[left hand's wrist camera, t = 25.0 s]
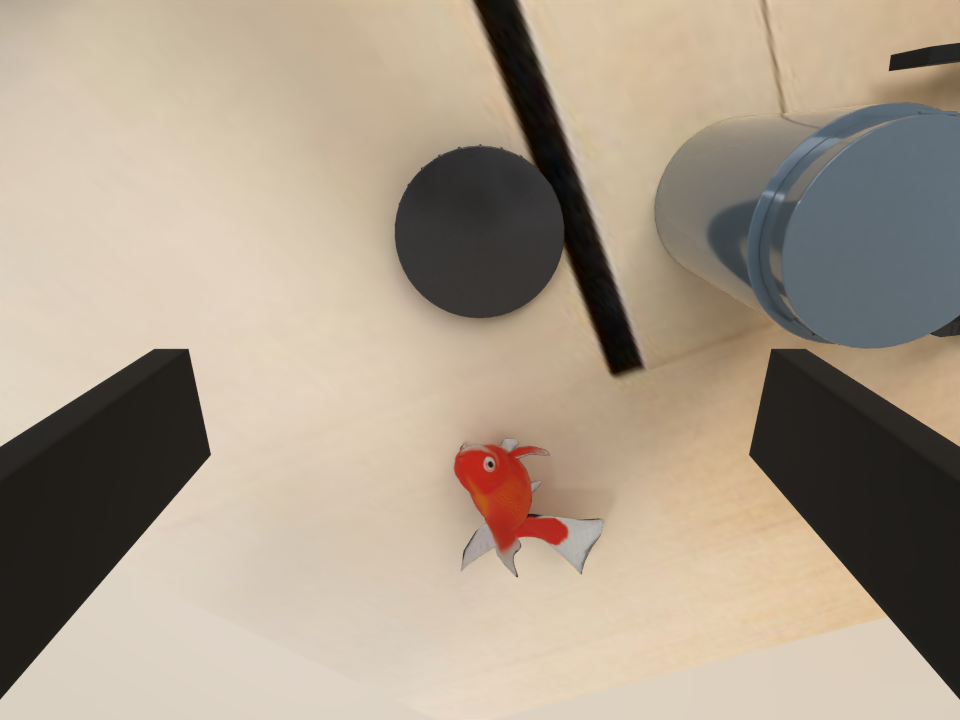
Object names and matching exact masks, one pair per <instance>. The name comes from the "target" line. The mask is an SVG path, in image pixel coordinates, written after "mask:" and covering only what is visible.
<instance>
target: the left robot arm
mask: <svg viewBox="0 0 960 720" xmlns="http://www.w3.org/2000/svg"><path fill="white" fill-rule="evenodd" d="M210 455H211V453H210V448H209V443H208V439H207V434H206V429H205V425H204V420H203V415H202V410H201V406H200V401H199V396H198V392H197V387H196V382H195V377H194V373H193V368H192V363H191V359H190V354H189V349H154V350H152V351H150V352H149V353H147V354H146V355H144V356H143V357H141V358H139V359H138V360H136V361H135V362H133V363H132V364H130V365H128V366H127V367H125V368H124V369H122V370H121V371H119V372H117V373H116V374H114V375H113V376H111V377H110V378H108V379H106V380H105V381H103V382H102V383H100V384H98V385H97V386H95V387H94V388H92V389H91V390H89V391H87V392H86V393H84V394H83V395H81V396H80V397H78V398H76V399H75V400H73V401H72V402H70V403H69V404H67V405H65V406H64V407H62V408H61V409H59V410H58V411H56V412H54V413H53V414H51V415H50V416H48V417H46V418H45V419H43V420H42V421H40V422H39V423H37V424H35V425H34V426H32V427H31V428H29V429H28V430H26V431H24V432H23V433H21V434H20V435H18V436H17V437H15V438H13V439H12V440H10V441H9V442H7V443H6V444H4V445H2V446H1V447H0V699H1V698H2V697H3V696H4V695H5V693H6V692H7V691H8V690H9V689H10V687H11V686H12V685H13V684H14V683H15V682H16V681H17V679H18V678H19V677H20V676H21V675H22V674H23V672H24V671H25V670H26V669H27V668H28V667H29V665H30V664H31V663H32V662H33V661H34V660H35V659H36V657H37V656H38V655H39V654H40V653H41V652H42V650H43V649H44V648H45V647H46V646H47V645H48V643H49V642H50V641H51V640H52V639H53V638H54V636H55V635H56V634H57V633H58V632H59V631H60V629H61V628H62V627H63V626H64V625H65V624H66V622H67V621H68V620H69V619H70V618H71V617H72V615H73V614H74V613H75V612H76V611H77V610H78V609H79V607H80V606H81V605H82V604H83V603H84V602H85V600H86V599H87V598H88V597H89V596H90V595H91V593H92V592H93V591H94V590H95V589H96V588H97V587H98V585H99V584H100V583H101V582H102V581H103V580H104V578H105V577H106V576H107V575H108V574H109V573H110V571H111V570H112V569H113V568H114V567H115V566H116V564H117V563H118V562H119V561H120V560H121V559H122V557H123V556H124V555H125V554H126V553H127V552H128V551H129V549H130V548H131V547H132V546H133V545H134V544H135V542H136V541H137V540H138V539H139V538H140V537H141V535H142V534H143V533H144V532H145V531H146V530H147V528H148V527H149V526H150V525H151V524H152V523H153V521H154V520H155V519H156V518H157V517H158V516H159V515H160V513H161V512H162V511H163V510H164V509H165V508H166V506H167V505H168V504H169V503H170V502H171V501H172V499H173V498H174V497H175V496H176V495H177V494H178V492H179V491H180V490H181V489H182V488H183V487H184V485H185V484H186V483H187V482H188V481H189V480H190V479H191V477H192V476H193V475H194V474H195V473H196V472H197V470H198V469H199V468H200V467H201V466H202V465H203V463H204V462H205V461H206V460H207V459H208V458H209V456H210ZM749 455H750V456H751V458H752V459H753V460H754V461H755V462H756V463H757V465H758V466H759V467H760V468H761V469H762V470H763V472H764V473H765V474H766V475H767V476H768V477H769V479H770V480H771V481H772V482H773V483H774V484H775V485H776V487H777V488H778V489H779V490H780V491H781V492H782V494H783V495H784V496H785V497H786V498H787V499H788V501H789V502H790V503H791V504H792V505H793V506H794V508H795V509H796V510H797V511H798V512H799V513H800V515H801V516H802V517H803V518H804V519H805V520H806V521H807V523H808V524H809V525H810V526H811V527H812V528H813V530H814V531H815V532H816V533H817V534H818V535H819V537H820V538H821V539H822V540H823V541H824V542H825V544H826V545H827V546H828V547H829V548H830V549H831V551H832V552H833V553H834V554H835V555H836V556H837V557H838V559H839V560H840V561H841V562H842V563H843V564H844V566H845V567H846V568H847V569H848V570H849V571H850V573H851V574H852V575H853V576H854V577H855V578H856V580H857V581H858V582H859V583H860V584H861V585H862V587H863V588H864V589H865V590H866V591H867V592H868V593H869V595H870V596H871V597H872V598H873V599H874V600H875V602H876V603H877V604H878V605H879V606H880V607H881V609H882V610H883V611H884V612H885V613H886V614H887V616H888V617H889V618H890V619H891V620H892V621H893V623H894V624H895V625H896V626H897V627H898V628H899V629H900V631H901V632H902V633H903V634H904V635H905V636H906V638H907V639H908V640H909V641H910V642H911V643H912V645H913V646H914V647H915V648H916V649H917V650H918V652H919V653H920V654H921V655H922V656H923V657H924V659H925V660H926V661H927V662H928V663H929V664H930V665H931V667H932V668H933V669H934V670H935V671H936V672H937V674H938V675H939V676H940V677H941V678H942V679H943V681H944V682H945V683H946V684H947V685H948V686H949V687H950V689H951V690H952V691H953V692H954V693H955V695H956V696H957V697H958V698H959V699H960V447H959V446H958V445H956V444H954V443H953V442H951V441H950V440H948V439H947V438H945V437H943V436H942V435H940V434H939V433H937V432H936V431H934V430H932V429H931V428H929V427H928V426H926V425H925V424H923V423H921V422H920V421H918V420H917V419H915V418H914V417H912V416H910V415H909V414H907V413H906V412H904V411H902V410H901V409H899V408H898V407H896V406H895V405H893V404H891V403H890V402H888V401H887V400H885V399H884V398H882V397H880V396H879V395H877V394H876V393H874V392H873V391H871V390H869V389H868V388H866V387H865V386H863V385H862V384H860V383H858V382H857V381H855V380H854V379H852V378H850V377H849V376H847V375H846V374H844V373H843V372H841V371H839V370H838V369H836V368H835V367H833V366H832V365H830V364H828V363H827V362H825V361H824V360H822V359H821V358H819V357H817V356H816V355H814V354H813V353H811V352H810V351H808V350H806V349H771V354H770V359H769V363H768V368H767V373H766V377H765V382H764V387H763V392H762V396H761V401H760V406H759V410H758V415H757V420H756V425H755V429H754V434H753V439H752V443H751V448H750V453H749Z"/></svg>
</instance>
